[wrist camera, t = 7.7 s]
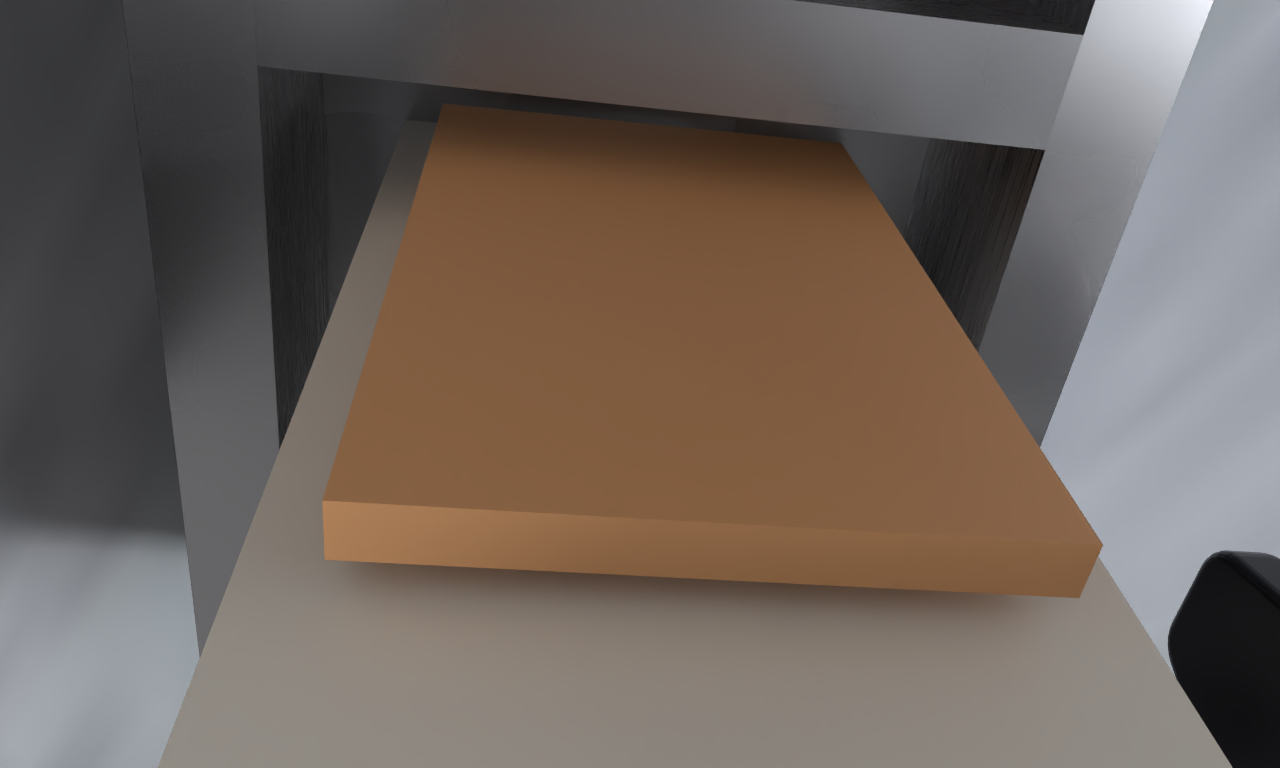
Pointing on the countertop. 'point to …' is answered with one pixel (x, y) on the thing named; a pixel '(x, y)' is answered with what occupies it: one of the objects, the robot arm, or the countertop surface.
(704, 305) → the pale upright block
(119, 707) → the countertop surface
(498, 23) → the grey holder tray
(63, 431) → the countertop surface
